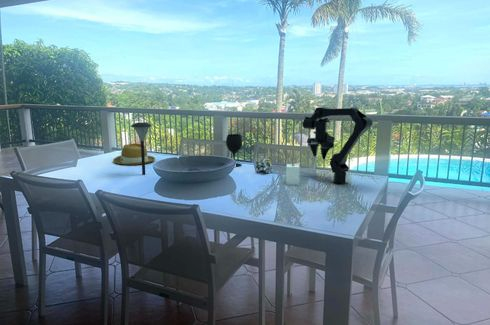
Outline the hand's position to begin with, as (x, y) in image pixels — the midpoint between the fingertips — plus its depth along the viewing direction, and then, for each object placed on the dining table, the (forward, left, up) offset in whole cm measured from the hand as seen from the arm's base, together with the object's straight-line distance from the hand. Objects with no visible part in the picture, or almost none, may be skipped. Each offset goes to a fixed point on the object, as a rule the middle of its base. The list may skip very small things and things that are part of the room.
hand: (319, 157), depth 206 cm
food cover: (-5, +19, -12) cm, 23 cm away
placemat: (-2, +17, -12) cm, 20 cm away
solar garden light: (+40, +92, -12) cm, 101 cm away
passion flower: (+23, +24, -12) cm, 35 cm away
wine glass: (+48, +34, -12) cm, 60 cm away
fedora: (+80, +94, -12) cm, 124 cm away
